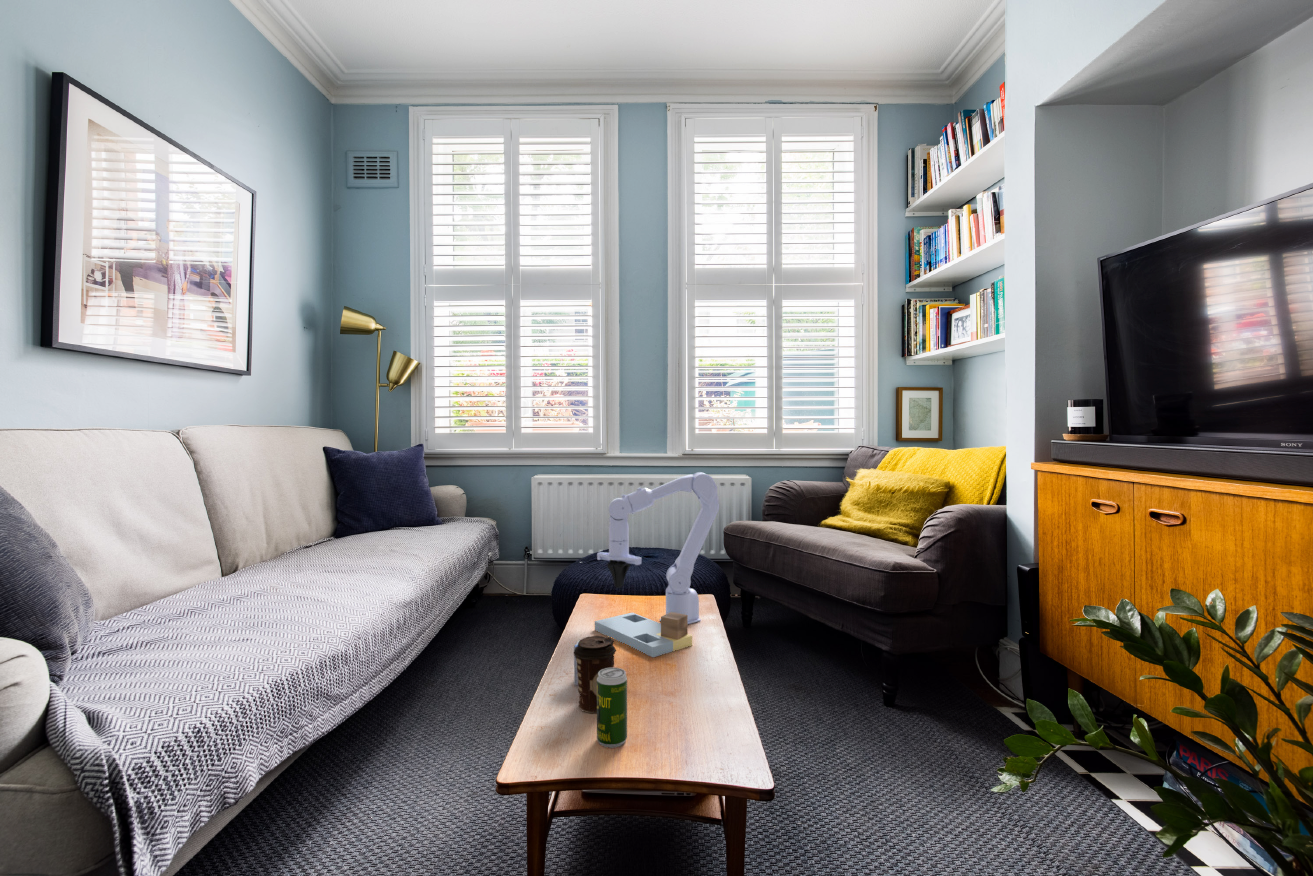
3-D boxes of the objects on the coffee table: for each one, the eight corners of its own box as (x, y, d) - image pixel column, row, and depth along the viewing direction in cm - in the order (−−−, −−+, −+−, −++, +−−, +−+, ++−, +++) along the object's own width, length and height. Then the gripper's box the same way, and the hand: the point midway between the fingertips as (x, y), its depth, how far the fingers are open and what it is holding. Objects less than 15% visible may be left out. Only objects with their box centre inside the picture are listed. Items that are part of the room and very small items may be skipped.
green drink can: (611, 730, 107) (611, 664, 107) (633, 739, 103) (633, 672, 103) (590, 741, 103) (590, 673, 103) (612, 752, 99) (612, 681, 99)
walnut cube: (671, 630, 154) (671, 611, 154) (687, 634, 152) (687, 615, 152) (660, 636, 150) (660, 616, 150) (677, 639, 147) (677, 620, 147)
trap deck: (632, 620, 171) (632, 612, 171) (692, 645, 150) (692, 635, 150) (594, 630, 162) (594, 621, 162) (652, 657, 142) (652, 647, 142)
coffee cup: (624, 701, 118) (624, 637, 118) (604, 719, 111) (604, 651, 111) (587, 694, 122) (587, 631, 122) (565, 711, 114) (565, 644, 114)
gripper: (590, 539, 169) (590, 586, 169) (631, 544, 162) (631, 593, 162) (605, 536, 175) (605, 581, 175) (645, 540, 168) (645, 588, 168)
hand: (619, 586), depth 169 cm, fingers closed
